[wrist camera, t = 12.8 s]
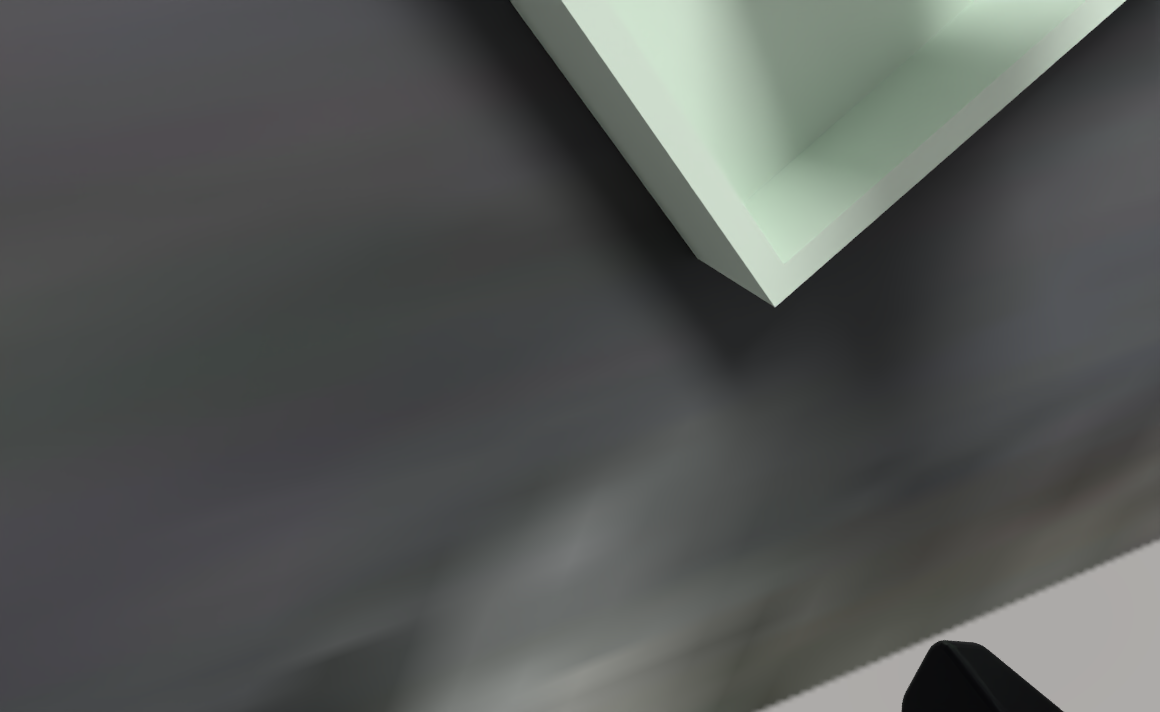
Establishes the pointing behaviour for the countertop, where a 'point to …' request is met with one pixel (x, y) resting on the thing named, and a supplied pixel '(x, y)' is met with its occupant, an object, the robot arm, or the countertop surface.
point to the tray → (795, 107)
